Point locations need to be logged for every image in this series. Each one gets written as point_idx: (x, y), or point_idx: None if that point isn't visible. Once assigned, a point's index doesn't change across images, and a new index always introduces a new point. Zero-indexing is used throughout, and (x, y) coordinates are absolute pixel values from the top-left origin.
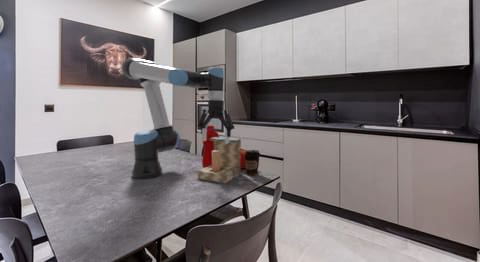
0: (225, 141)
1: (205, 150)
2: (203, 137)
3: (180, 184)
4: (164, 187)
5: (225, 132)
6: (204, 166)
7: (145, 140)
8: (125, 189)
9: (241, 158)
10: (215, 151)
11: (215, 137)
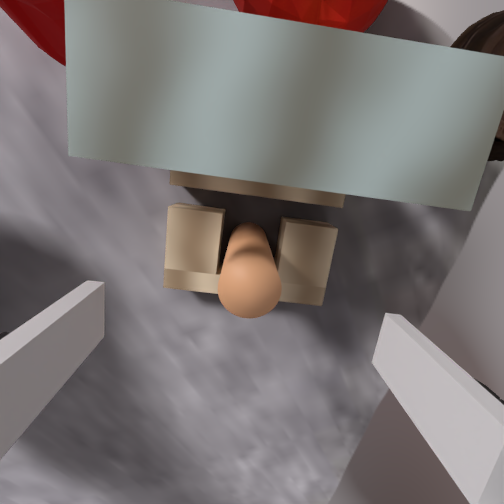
0: (386, 377)
1: (4, 1)
2: (81, 360)
3: (152, 357)
4: (119, 398)
5: (454, 474)
6: None
7: None
8: (14, 449)
9: (362, 24)
10: (252, 300)
11: (93, 36)
